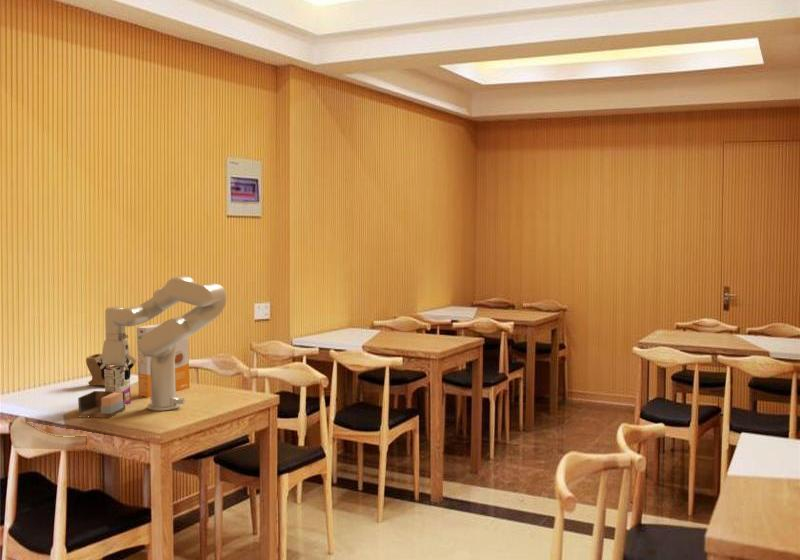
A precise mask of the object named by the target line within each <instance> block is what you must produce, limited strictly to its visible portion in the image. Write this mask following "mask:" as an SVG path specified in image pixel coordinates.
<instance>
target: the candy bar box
mask: <svg viewBox="0 0 800 560" xmlns="http://www.w3.org/2000/svg"><path fill="white" fill-rule="evenodd" d="M125 370H126V369H125V368H124V366H123V365H111V366H110V367H109V368H106V369H104V378H105V386H104V391H117V392H125V404H127V405H129V404H130V402H131V403H132V400H131V380H130V379H127V380H125V372H124V371H125ZM128 403H129V404H128Z"/></svg>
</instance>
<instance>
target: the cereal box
mask: <svg viewBox="0 0 800 560" xmlns="http://www.w3.org/2000/svg"><path fill="white" fill-rule="evenodd" d="M160 324H161V323H158V324H150V325H144V326H136V343H137V344H136V345H137V348H136V349H137V370H138V371H137V376H138V377H137V379H138V383H137V384H138V396H139V395H140V396H139V397H142V396H145V397H144V398H148V397H149V398H151V375H150V362H151V357H147V356H145V355H143V354H142V353H141V351H140V349H139V342H140V340H141V338H142V337H143V336H144V335H145V334H146V333H148V332H150V331H151V330H153V329H154V328H156V327H157V326H159V325H160ZM189 355H190V354H189V338H188V339H186V340H183V341H180V342H178V343H176V352H175V388H176V392H179V391H183V390H187V389H190V362H189V360H190V359H189V358H190V357H189Z"/></svg>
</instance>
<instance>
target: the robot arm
mask: <svg viewBox="0 0 800 560" xmlns="http://www.w3.org/2000/svg"><path fill="white" fill-rule="evenodd" d="M178 303H185V304H189V305H191V306H195V307H194V308H192V309H191V310H189V311H187V312H185V313H184V314H182V315H180V316H177V317H176V316H175V317H173V318H170V319H168V320H165V321H164V322H162V323H159V324H160V325H159V326H157V327H156V328H154V329H153V330H151V331H150V332H148V333H146V334H145V335H144V336H143V337H142V338H141V340H140V342H139V349H140V351H141V353H142V354H143V355H145V356H147V357H151V362H150V375H151V397H150V399H151V400H150V402H151V403H149V404H148V405H147V406H146V407H147V409H148V410H150V411H156V412H157V411H159V412H163V411H164V412H165V411H170V410H171V411H172V410H175V409H178V408H179V407H181V405H184V404H186V399H185V398H183V397H181V398H179V394H177V393H176V392H177V391H176V388H175V352H176V343H178V342H180V341H183V340H186V339H188V340H189V338H190V337H191V336H193V335H195V334H196V333H197V332H200V330H202V329H203V328H205V327H206V326H208V325H209V324H210V323H212V322H214V321H215V320H216V319H217V318H218V317H219V316H220V315H221V314H222V313H223V311H224V310H225V307H226V303H227V293H226V289H225V288H224V287H223V286H222V285H221V284H219V283H217V282H216V283H215V282H212V283H211V282H210V283H204V284H199V283H197V282H195V280H194V279H193V278H192V277H190V276H188V275H182V276H181V275H179V276H174V277H171V278H170V279H168V281H166V283H165V285H164V286H161V287H160V288H158V289H157V290H155V291H154V292H153V294H152V297H151V298H149V299H148V300H146V301H145V302H143V303H141V304H139V305H135V306H130V307H125V308H124V307H122V306H109V307H107V308H106V309H105V311H104V314H105V317H104V318H105V340H104V341H103V346H102V353H101V354H102V355H100V356H98V357H96V358H95V360H96V362H97V365H98V366H99V367H100V369H101V376H102V379H105V378H104V369H106V366H107V365H110V366H115V365H123V366H124V368H125V369H126V370H125V371H124V372H125V380H127V379H130V378H131V369H132V368H133V367H134V366H135V364H136V363H137V358H135V357H134V356H132V355H130V354H131V353H130V346H129V341H128V340H127V339H128V338H129V335H128V334H126V327H134V326H137V325H142V324H145V323H147V322H149V321H150V320H152V319H153V318H155V317H158V316H159V315H161V314H162V313H164V312H165V311H166V310H168V309H170V308H171V307H172V306H175V305H176V304H178ZM101 358H102V362H103V363H102V362H101V361H100V359H101ZM130 362H131V363H130Z"/></svg>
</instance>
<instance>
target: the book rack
mask: <svg viewBox="0 0 800 560" xmlns="http://www.w3.org/2000/svg"><path fill="white" fill-rule="evenodd" d="M77 401H78V403H77V404H78V413H77V417H78V416H81V417H80V418H83V417H82V416H85V417H84V418H91V417H111V418H113V417H115V416H116V415H115V414H117V413H119V412H121V411H123V410H125V411H126V405H125V392H117V391H105V390H93V391H91V392H89V393H86V394H84V395H82V396H80V397H78V399H77ZM123 412H124V411H123ZM121 413H122V412H121ZM119 414H120V413H119ZM114 415H115V416H114ZM117 415H118V414H117ZM88 416H89V417H88ZM112 416H113V417H112Z"/></svg>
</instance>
